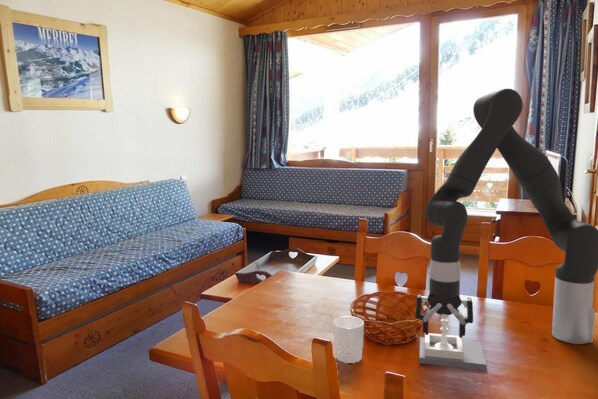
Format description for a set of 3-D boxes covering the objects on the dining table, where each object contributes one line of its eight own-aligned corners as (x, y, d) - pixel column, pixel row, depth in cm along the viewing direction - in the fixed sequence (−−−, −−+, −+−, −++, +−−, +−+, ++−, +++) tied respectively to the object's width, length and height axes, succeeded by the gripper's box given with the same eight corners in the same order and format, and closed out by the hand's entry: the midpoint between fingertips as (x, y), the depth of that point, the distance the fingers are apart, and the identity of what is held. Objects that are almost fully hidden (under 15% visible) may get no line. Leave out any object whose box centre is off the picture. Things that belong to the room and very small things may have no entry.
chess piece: (454, 354, 118) (455, 317, 116) (434, 352, 119) (435, 316, 117) (452, 345, 122) (453, 310, 121) (433, 344, 123) (433, 309, 122)
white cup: (356, 368, 115) (356, 330, 114) (328, 360, 119) (328, 324, 118) (368, 354, 122) (368, 319, 120) (342, 348, 126) (341, 313, 124)
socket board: (480, 347, 124) (481, 335, 123) (486, 370, 112) (486, 356, 112) (419, 342, 128) (420, 330, 127) (419, 363, 117) (419, 350, 116)
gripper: (472, 273, 119) (470, 331, 122) (416, 270, 123) (415, 327, 125) (475, 282, 112) (473, 344, 114) (415, 279, 116) (415, 339, 118)
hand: (443, 335), depth 120 cm, fingers open, 8 cm apart
